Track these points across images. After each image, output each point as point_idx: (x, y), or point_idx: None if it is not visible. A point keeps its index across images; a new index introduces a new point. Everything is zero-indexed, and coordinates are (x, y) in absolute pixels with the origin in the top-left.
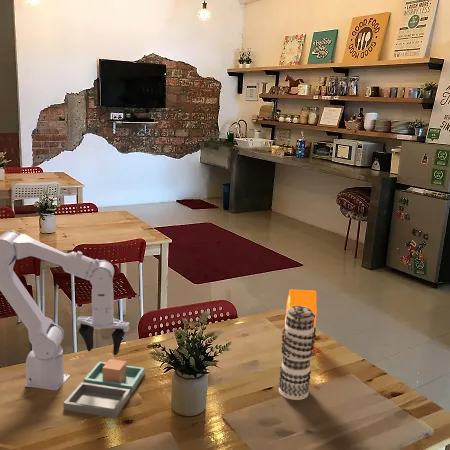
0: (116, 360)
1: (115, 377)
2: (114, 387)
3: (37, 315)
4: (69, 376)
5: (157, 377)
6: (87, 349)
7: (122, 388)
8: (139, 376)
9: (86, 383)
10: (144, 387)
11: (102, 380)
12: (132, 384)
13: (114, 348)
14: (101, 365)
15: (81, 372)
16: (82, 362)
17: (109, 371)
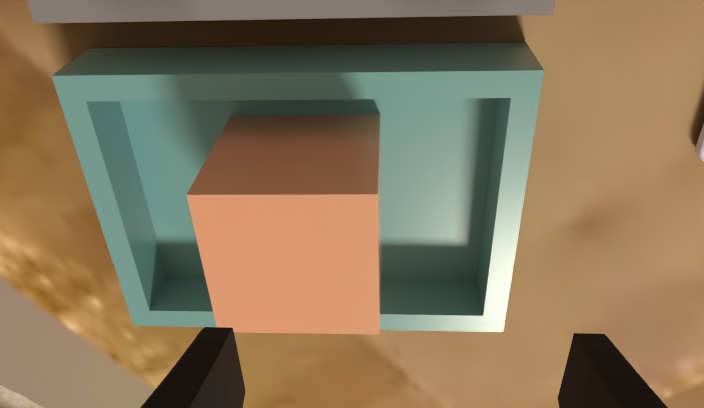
0: (307, 326)
1: (250, 150)
2: (190, 14)
3: None
4: (700, 144)
5: (68, 283)
6: (617, 351)
7: (109, 18)
8: (105, 229)
9: (490, 5)
10: (69, 162)
11: (357, 96)
12: (70, 105)
13: (177, 399)
14: (472, 301)
15: (613, 226)
16: (640, 330)
17: (301, 177)
